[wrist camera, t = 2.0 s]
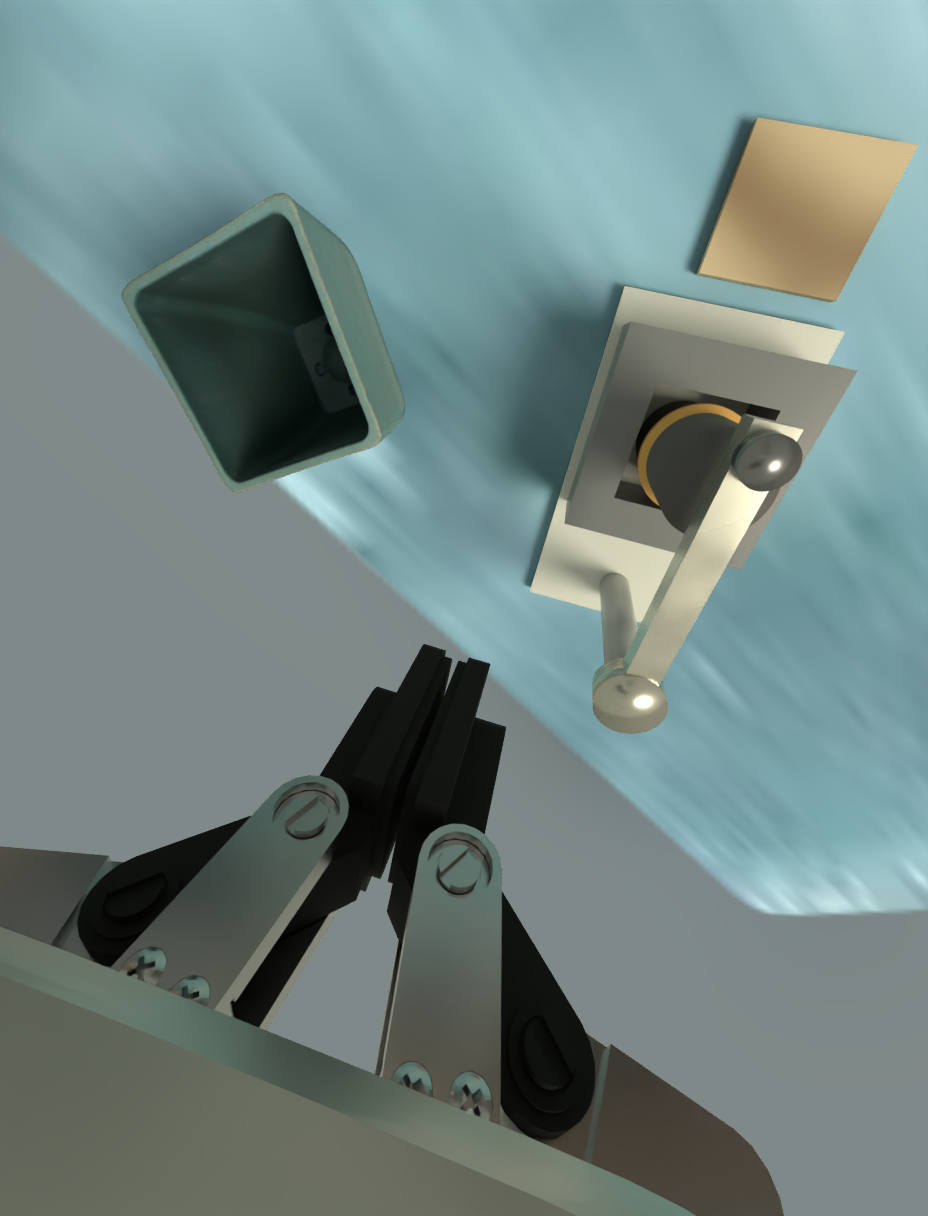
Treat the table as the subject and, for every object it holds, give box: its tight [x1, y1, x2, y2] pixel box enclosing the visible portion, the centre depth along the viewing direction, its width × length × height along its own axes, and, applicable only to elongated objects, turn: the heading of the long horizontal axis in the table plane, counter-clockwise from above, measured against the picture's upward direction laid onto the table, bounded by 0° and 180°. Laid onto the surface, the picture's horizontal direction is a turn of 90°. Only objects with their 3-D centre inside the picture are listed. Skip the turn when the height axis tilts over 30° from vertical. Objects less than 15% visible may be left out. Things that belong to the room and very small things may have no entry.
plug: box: [636, 401, 780, 534], centre depth 20 cm, size 5×5×9 cm
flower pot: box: [122, 193, 405, 492], centre depth 22 cm, size 9×9×9 cm
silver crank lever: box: [592, 414, 803, 734], centre depth 17 cm, size 13×3×2 cm, turn 169°
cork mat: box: [696, 118, 918, 302], centre depth 19 cm, size 5×6×1 cm
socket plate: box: [530, 286, 857, 664], centre depth 21 cm, size 17×10×10 cm, turn 169°
